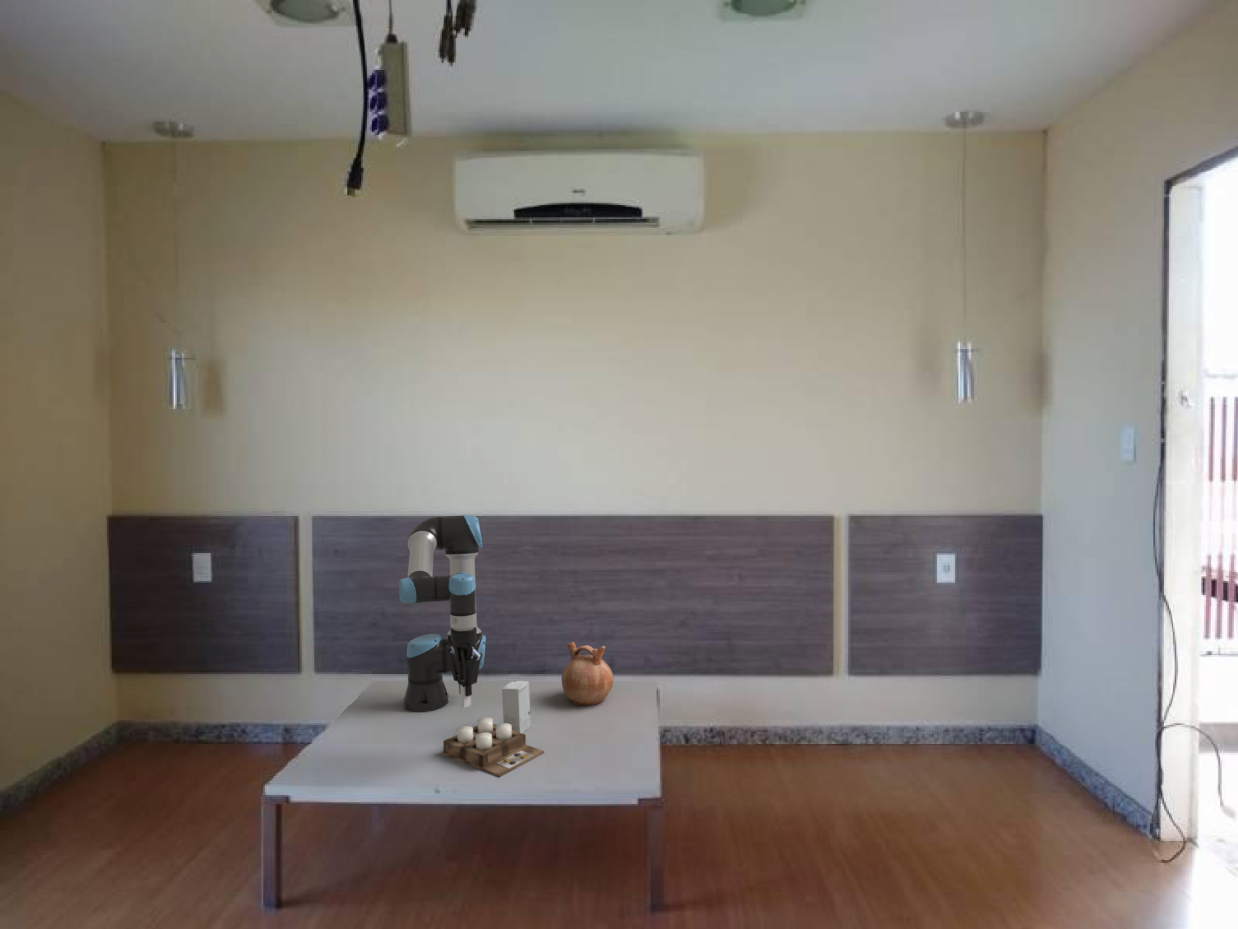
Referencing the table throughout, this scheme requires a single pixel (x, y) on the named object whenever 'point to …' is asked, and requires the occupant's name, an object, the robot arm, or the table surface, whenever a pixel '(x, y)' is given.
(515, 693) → the skincare box
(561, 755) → the table surface
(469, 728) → the button
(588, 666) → the jug
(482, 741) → the button
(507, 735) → the button
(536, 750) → the board
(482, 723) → the button
